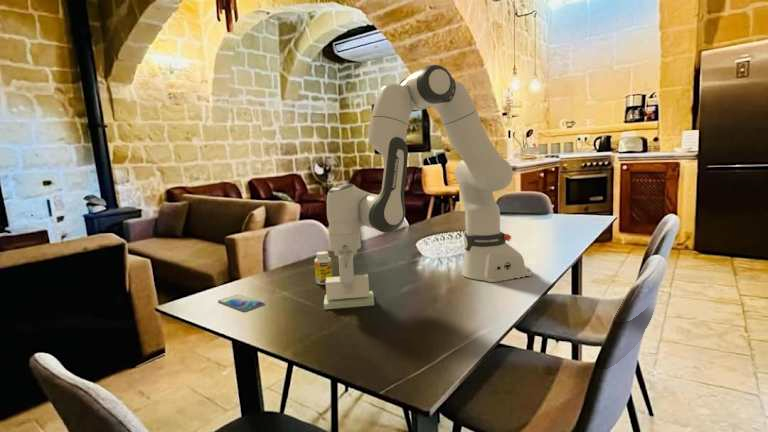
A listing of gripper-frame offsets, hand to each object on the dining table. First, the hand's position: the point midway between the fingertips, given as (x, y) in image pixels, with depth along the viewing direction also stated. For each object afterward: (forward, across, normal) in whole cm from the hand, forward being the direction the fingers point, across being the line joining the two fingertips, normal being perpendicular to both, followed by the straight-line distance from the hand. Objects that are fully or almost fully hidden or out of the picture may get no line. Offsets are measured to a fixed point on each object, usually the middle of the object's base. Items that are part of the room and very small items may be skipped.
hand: (348, 289), depth 121 cm
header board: (+4, 0, 0) cm, 4 cm away
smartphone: (+4, +7, +32) cm, 33 cm away
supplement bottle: (+4, +21, +8) cm, 23 cm away
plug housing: (+2, 0, 0) cm, 2 cm away
